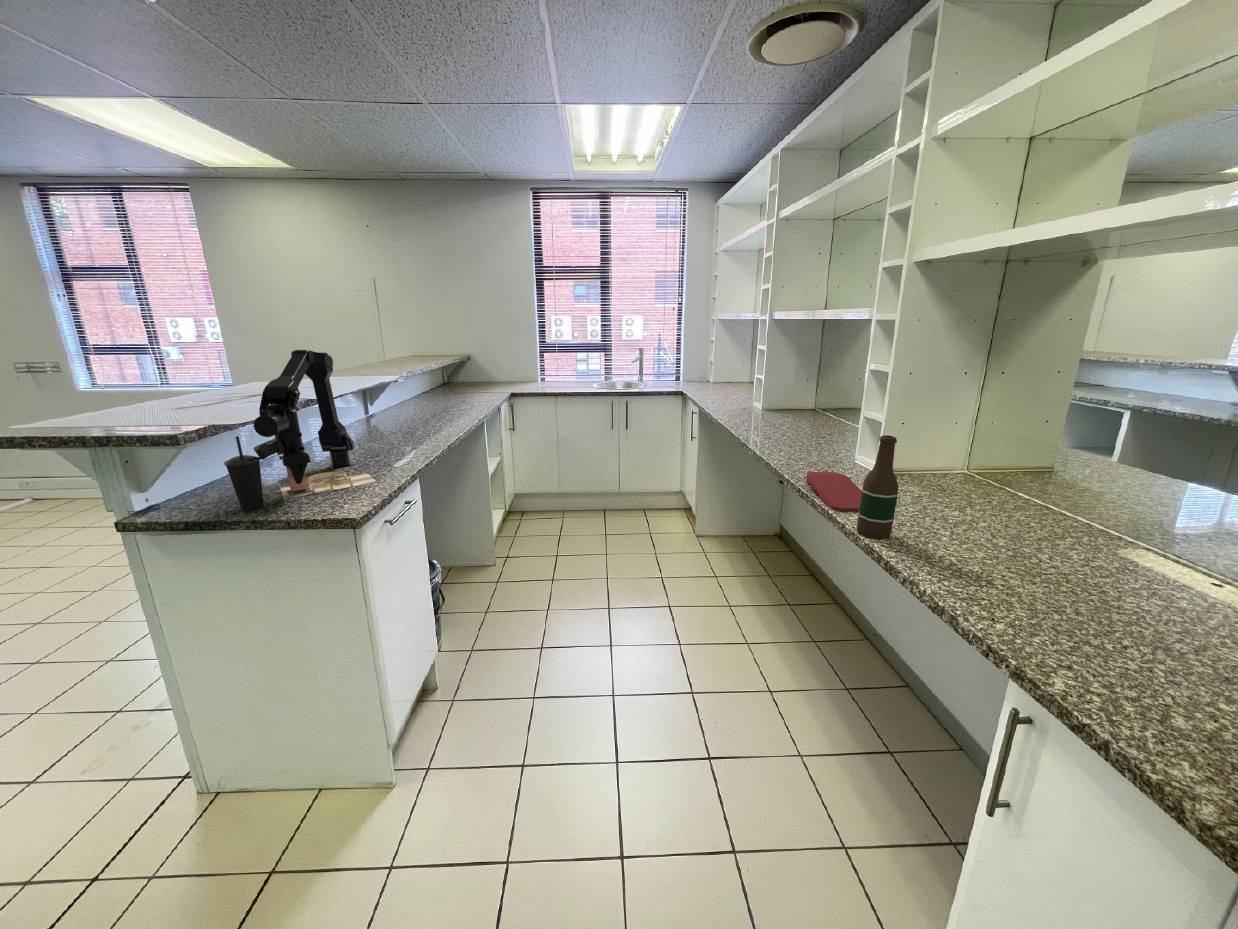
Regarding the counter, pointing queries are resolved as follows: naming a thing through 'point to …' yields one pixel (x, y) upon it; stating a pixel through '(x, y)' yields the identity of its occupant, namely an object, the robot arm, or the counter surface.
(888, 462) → the beer bottle
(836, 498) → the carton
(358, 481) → the beige board
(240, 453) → the drinking cup
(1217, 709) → the counter surface
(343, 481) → the bent wooden frame
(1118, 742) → the counter surface
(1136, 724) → the counter surface
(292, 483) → the block
